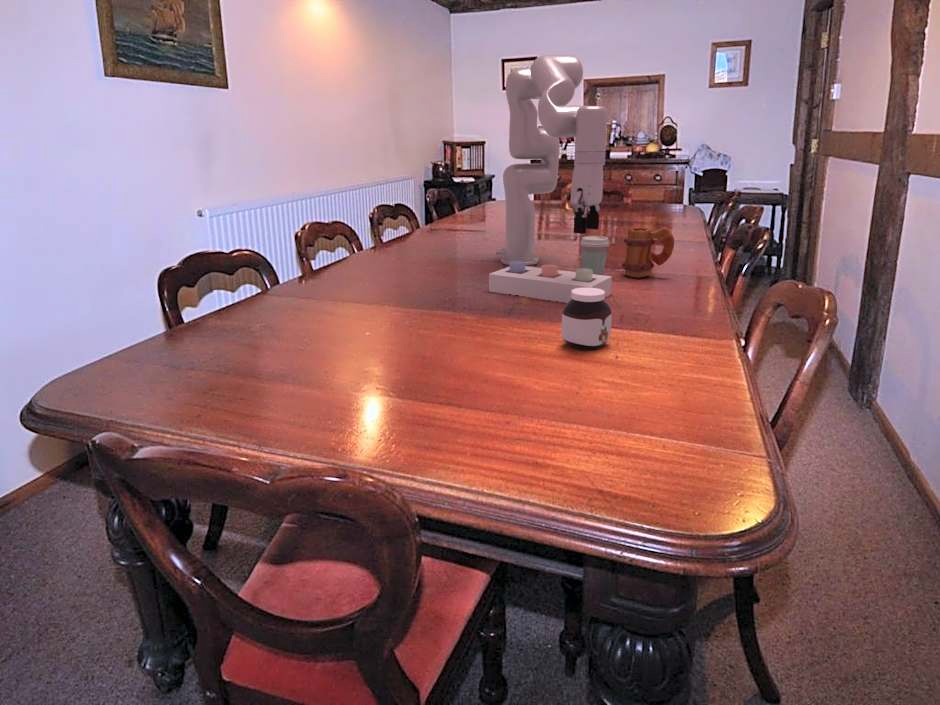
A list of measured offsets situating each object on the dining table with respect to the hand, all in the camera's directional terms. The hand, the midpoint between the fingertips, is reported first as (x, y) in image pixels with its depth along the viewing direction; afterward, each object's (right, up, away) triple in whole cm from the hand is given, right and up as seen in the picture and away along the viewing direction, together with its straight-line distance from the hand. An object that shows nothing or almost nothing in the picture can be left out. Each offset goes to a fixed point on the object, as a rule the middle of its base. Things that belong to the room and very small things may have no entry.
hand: (586, 230), depth 169 cm
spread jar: (-6, -29, -29) cm, 41 cm away
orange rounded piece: (-8, -13, +10) cm, 18 cm away
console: (-8, -15, +11) cm, 20 cm away
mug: (+23, -9, +28) cm, 37 cm away
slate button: (-17, -11, +15) cm, 25 cm away
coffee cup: (+7, -9, +28) cm, 30 cm away
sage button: (0, -14, +5) cm, 15 cm away
